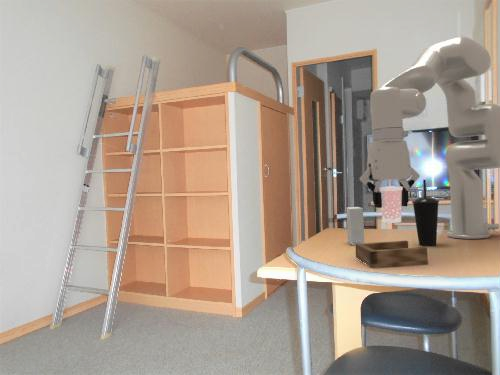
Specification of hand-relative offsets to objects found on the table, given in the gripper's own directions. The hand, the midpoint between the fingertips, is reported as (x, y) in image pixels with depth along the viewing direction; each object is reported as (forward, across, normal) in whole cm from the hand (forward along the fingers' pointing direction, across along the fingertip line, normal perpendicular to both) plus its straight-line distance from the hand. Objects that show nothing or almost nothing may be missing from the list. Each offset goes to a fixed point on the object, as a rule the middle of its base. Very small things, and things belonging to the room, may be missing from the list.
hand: (390, 206), depth 101 cm
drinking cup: (+14, -18, -18) cm, 29 cm away
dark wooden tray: (+14, +1, 0) cm, 14 cm away
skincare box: (+14, +1, -28) cm, 32 cm away
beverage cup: (+4, 0, 0) cm, 4 cm away
